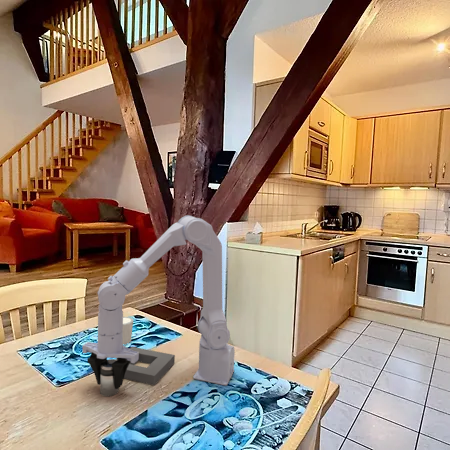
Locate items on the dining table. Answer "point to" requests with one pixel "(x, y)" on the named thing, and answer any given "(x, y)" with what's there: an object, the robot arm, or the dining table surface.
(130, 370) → the square peg hole
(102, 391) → the lens
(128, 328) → the white cylinder
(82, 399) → the dining table surface
